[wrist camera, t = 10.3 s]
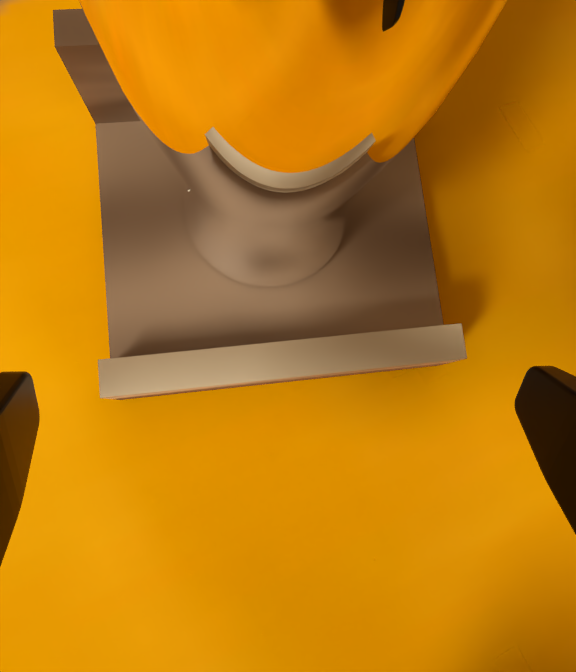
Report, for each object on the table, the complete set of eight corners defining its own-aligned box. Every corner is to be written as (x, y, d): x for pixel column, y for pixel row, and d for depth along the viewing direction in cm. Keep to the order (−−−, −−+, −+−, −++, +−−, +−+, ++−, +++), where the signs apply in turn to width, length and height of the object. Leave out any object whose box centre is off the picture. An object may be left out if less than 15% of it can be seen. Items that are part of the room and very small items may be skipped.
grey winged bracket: (439, 365, 19) (504, 348, 14) (120, 399, 18) (72, 395, 13) (397, 93, 21) (442, -5, 16) (101, 109, 20) (52, 9, 15)
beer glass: (290, 90, 20) (422, -914, 5) (395, 235, 19) (915, -394, 4) (134, 181, 18) (-319, -740, 4) (241, 337, 18) (206, -15, 3)
